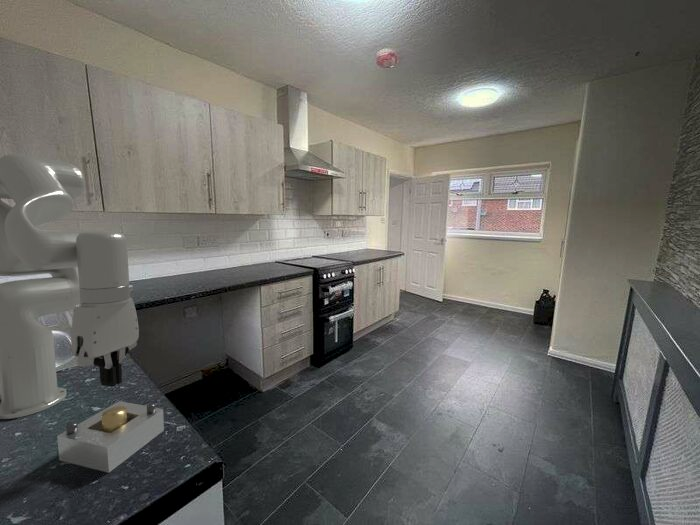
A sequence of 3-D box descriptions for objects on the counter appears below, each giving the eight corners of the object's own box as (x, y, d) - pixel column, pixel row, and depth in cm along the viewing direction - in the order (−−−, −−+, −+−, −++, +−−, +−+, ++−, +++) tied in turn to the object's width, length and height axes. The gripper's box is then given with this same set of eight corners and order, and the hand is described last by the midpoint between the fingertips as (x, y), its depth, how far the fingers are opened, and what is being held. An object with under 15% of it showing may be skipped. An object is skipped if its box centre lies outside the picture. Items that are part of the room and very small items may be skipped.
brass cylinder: (98, 448, 59) (96, 416, 59) (117, 435, 63) (115, 405, 63) (114, 452, 58) (112, 419, 58) (132, 439, 62) (131, 407, 62)
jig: (59, 460, 56) (56, 427, 56) (120, 421, 68) (119, 394, 67) (108, 472, 54) (106, 439, 53) (164, 430, 65) (162, 402, 65)
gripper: (127, 287, 66) (131, 365, 68) (44, 302, 51) (53, 401, 53) (155, 289, 64) (158, 369, 66) (77, 305, 49) (85, 408, 51)
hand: (111, 383), depth 59 cm, fingers closed
